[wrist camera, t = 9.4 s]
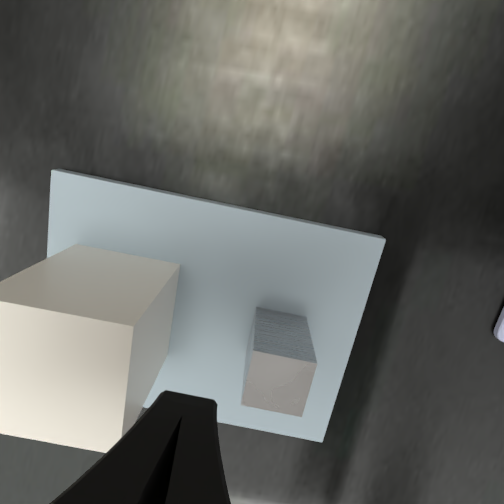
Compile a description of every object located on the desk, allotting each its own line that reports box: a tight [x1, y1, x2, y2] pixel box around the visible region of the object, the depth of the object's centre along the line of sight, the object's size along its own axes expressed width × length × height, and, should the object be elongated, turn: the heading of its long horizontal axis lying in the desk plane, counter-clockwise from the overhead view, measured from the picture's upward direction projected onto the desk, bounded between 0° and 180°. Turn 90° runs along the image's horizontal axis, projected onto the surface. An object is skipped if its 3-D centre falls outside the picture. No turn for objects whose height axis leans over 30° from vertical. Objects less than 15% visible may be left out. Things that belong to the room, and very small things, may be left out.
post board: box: [47, 169, 386, 442], centre depth 19 cm, size 16×12×1 cm
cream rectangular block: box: [0, 244, 180, 453], centre depth 16 cm, size 5×5×7 cm
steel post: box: [241, 307, 317, 417], centre depth 17 cm, size 3×3×5 cm
